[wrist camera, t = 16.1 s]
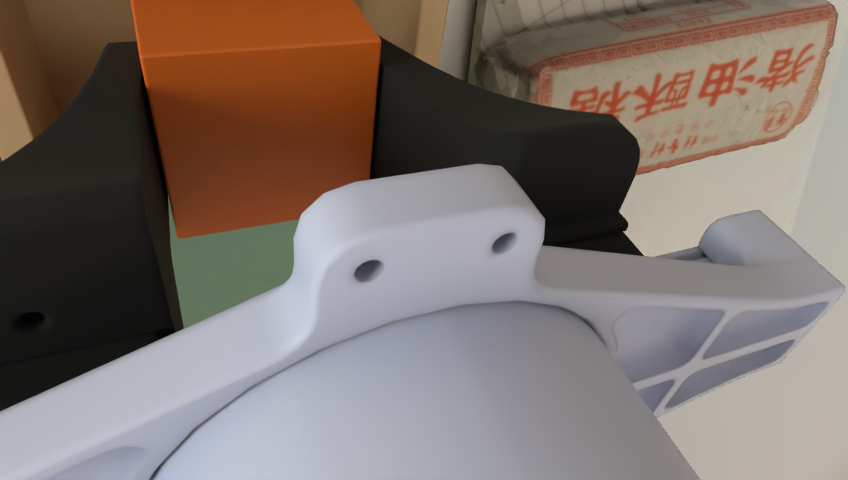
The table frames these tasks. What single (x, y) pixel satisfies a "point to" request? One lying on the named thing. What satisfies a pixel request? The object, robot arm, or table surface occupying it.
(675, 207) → the table surface
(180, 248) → the small green cabinet
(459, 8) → the table surface
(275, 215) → the cube
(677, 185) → the table surface
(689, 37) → the packaged product
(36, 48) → the drawer
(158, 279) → the robot arm
